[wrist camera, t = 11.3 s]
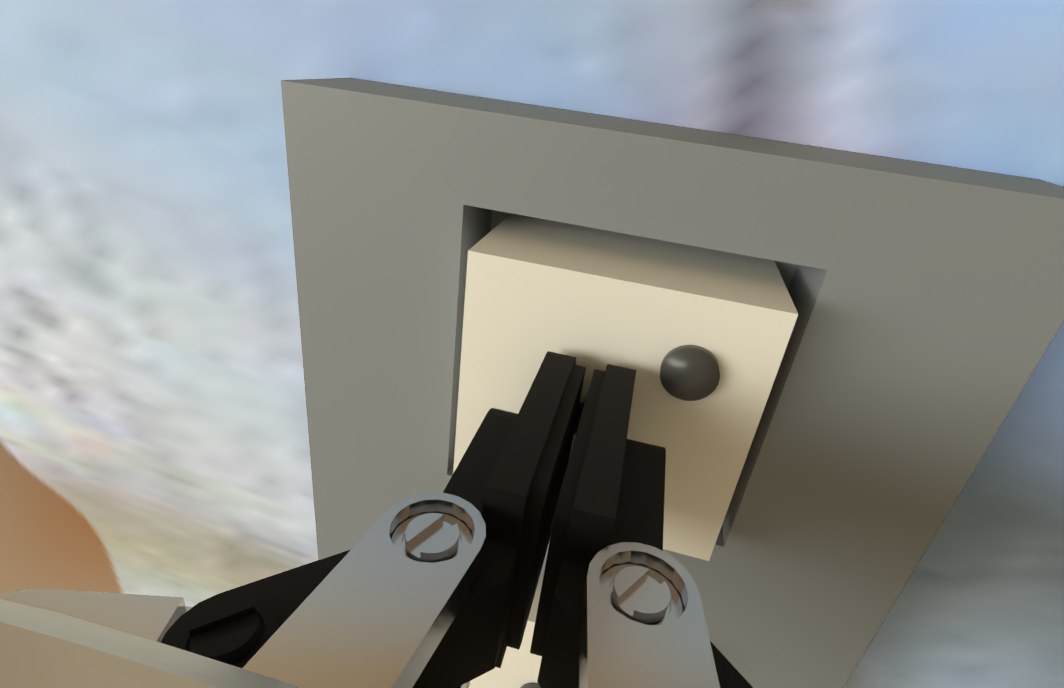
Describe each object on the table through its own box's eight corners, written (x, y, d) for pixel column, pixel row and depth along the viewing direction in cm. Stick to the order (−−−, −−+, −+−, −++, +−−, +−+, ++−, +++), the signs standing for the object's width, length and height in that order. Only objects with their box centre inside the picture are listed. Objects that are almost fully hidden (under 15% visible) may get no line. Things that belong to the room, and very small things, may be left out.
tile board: (1039, 179, 11) (1130, 209, 8) (683, 871, 24) (683, 954, 21) (349, 78, 13) (281, 79, 11) (368, 761, 26) (339, 825, 24)
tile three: (773, 259, 12) (800, 318, 9) (704, 470, 14) (708, 568, 12) (513, 212, 13) (464, 253, 10) (492, 419, 15) (448, 498, 12)
